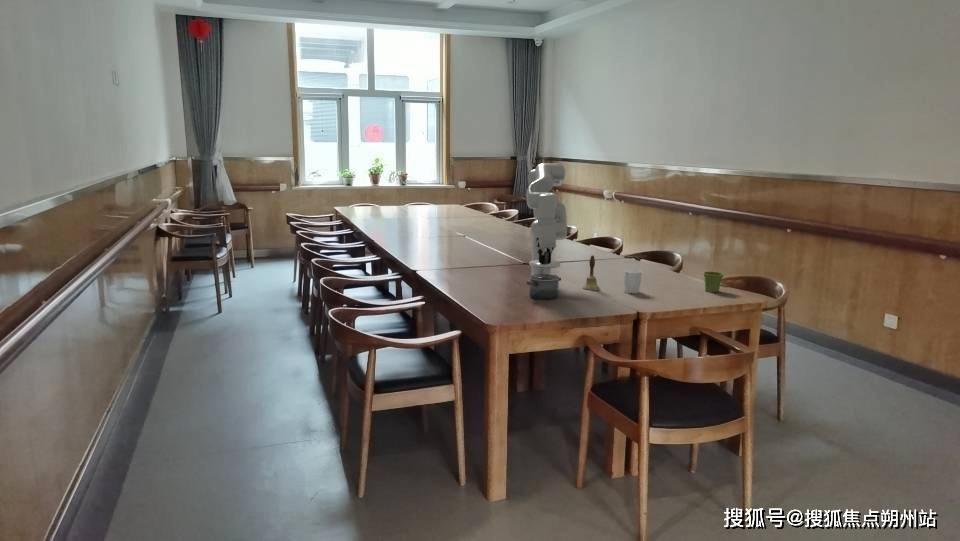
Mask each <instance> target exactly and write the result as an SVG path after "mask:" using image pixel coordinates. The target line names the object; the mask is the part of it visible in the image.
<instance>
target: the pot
mask: <svg viewBox="0 0 960 541" xmlns="http://www.w3.org/2000/svg"><path fill="white" fill-rule="evenodd" d="M556 275H557V274H556ZM556 275H553V274H552V275H550V274H535V275H531V274H530V275H529V280H530V281H529V280H528V281H526V285H529V296H528V297H529V298H531V299H534V300H539V301H540V300H542V301H552V300H556V299H557V298H559V284H560V283H559V282H561V281H562V277H560V276H559V275H557V276H556Z"/></svg>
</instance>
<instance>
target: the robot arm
mask: <svg viewBox="0 0 960 541" xmlns="http://www.w3.org/2000/svg"><path fill="white" fill-rule="evenodd" d="M565 178H566V168H565V166H564V165H563V164H561V163H559V162H558V163H557V162H556V163H555V162H553V163H552V162H545V163H544V162H543V163H539V164H537V165H536V166H535V168H534V169H532V170H530V171H529V172H528V175H527V180H528V181H527V182H528V187H527V190H526V205H527V207H528V208H529V209H530V210H531V209H532V210H533V217H534V219H535V220H534V221H532V223H531V224H530V234H531V235H530V236H531V261H534V260H539V263H542V264H545V255H544V251H548V252H549V259H548V263H551V261H552V254H553V251H554V249H555V248H557V245H556V244H557V241H562V240H564V239H566V237H567V236H568V224H567V209H566V206H565V204H564V203H562V202H559V197H558V195H557V193H555V192H550V191H551V190H553V188H554V187H558V186H559V187H560V186H561V185H562V184H563V183H564V180H565ZM551 270H552V268H539V267H533V266H531V272H530V273H531V274H530V276H531V275H535V274H550V275H556V276H558V275H557V274H556V273H554V274H553V273H552V271H551ZM528 281H530V279H529V280H528Z"/></svg>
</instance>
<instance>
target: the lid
mask: <svg viewBox="0 0 960 541" xmlns="http://www.w3.org/2000/svg"><path fill="white" fill-rule="evenodd" d="M544 255H545V264H542V263H539V260H534V261H532V260H531V261H528V262H529V264H528V265H529V267H532V266H533V267H539V268H551V269H554V268H560V267H561V262H560V261H556V260H551V263H548V259H549V252H548V251H544Z"/></svg>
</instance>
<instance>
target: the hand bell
mask: <svg viewBox="0 0 960 541" xmlns="http://www.w3.org/2000/svg"><path fill="white" fill-rule="evenodd" d="M595 264H596V259H595V255H591V256H590V258H589V270H590V271H589V276H587V277H586V280H585V283H584V285H583V286H582V289H583V288H584V289H583V290H586V289H588V290H587V291H598V290H597V289H599V290H601V287H600V286H599V285H598V283H597V277H596V276H594V274H595V273H594V268H595Z"/></svg>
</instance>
